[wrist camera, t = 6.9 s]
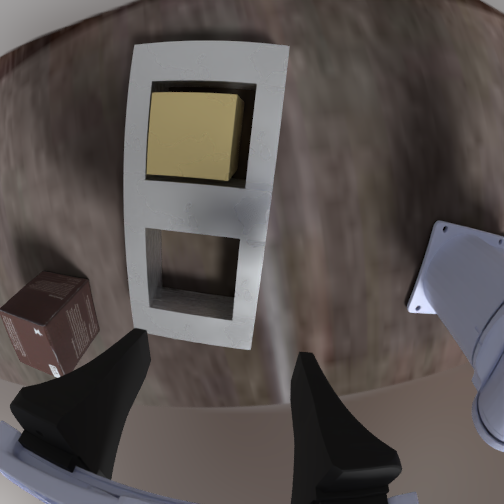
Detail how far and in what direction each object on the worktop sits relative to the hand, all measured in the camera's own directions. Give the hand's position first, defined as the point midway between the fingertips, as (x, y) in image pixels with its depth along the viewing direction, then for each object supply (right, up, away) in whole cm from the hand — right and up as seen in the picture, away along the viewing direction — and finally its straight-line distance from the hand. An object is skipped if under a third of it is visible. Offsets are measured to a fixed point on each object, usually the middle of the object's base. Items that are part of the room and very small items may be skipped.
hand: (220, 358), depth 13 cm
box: (-16, 0, +12) cm, 20 cm away
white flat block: (-2, +9, +7) cm, 11 cm away
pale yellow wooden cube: (-1, +13, +5) cm, 14 cm away
